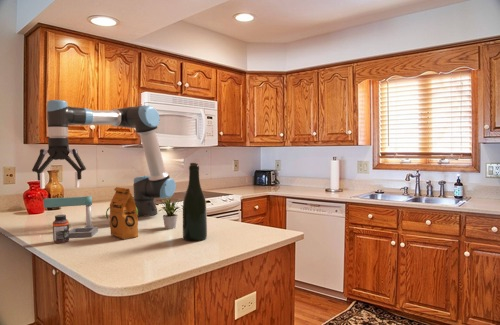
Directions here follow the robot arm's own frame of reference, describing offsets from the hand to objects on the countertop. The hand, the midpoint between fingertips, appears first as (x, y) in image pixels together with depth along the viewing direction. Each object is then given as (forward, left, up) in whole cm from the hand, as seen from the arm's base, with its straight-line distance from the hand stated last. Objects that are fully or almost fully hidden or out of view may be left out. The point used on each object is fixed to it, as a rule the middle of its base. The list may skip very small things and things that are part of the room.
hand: (60, 188), depth 148 cm
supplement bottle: (0, 0, -23) cm, 23 cm away
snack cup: (-19, -32, -23) cm, 44 cm away
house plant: (-43, -18, -23) cm, 52 cm away
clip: (+4, -21, -11) cm, 24 cm away
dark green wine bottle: (-56, +6, -23) cm, 61 cm away
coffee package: (-25, -4, -23) cm, 34 cm away
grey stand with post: (-5, -16, -23) cm, 28 cm away
